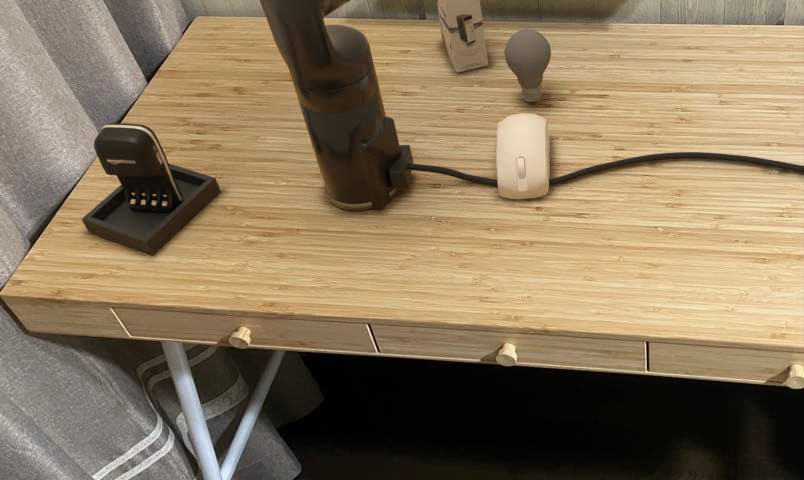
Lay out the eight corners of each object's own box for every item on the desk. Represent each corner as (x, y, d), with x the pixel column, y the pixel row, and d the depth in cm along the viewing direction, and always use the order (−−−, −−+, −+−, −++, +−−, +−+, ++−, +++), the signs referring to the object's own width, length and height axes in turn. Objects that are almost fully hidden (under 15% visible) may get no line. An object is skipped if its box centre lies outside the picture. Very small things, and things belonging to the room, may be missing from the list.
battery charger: (121, 215, 124) (83, 140, 116) (135, 194, 127) (98, 120, 118) (173, 218, 123) (138, 143, 115) (186, 197, 126) (153, 122, 117)
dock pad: (221, 191, 127) (215, 177, 125) (152, 255, 120) (146, 242, 118) (158, 171, 131) (151, 157, 129) (88, 232, 123) (81, 218, 122)
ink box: (441, 43, 146) (428, -33, 137) (473, 35, 147) (462, -41, 138) (456, 74, 140) (443, -3, 131) (489, 66, 141) (479, -11, 132)
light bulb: (505, 110, 134) (496, 44, 126) (516, 84, 137) (508, 18, 130) (548, 113, 132) (542, 47, 125) (559, 87, 136) (554, 21, 129)
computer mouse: (497, 202, 121) (491, 161, 116) (500, 136, 130) (495, 95, 125) (551, 199, 121) (547, 158, 116) (550, 133, 129) (547, 92, 125)
